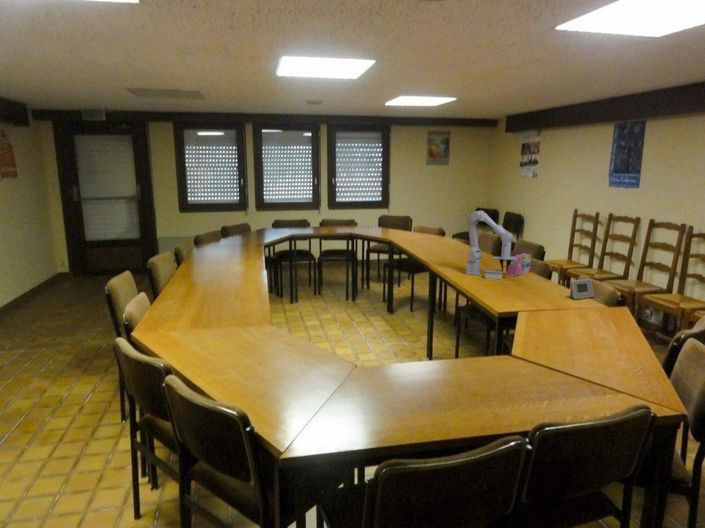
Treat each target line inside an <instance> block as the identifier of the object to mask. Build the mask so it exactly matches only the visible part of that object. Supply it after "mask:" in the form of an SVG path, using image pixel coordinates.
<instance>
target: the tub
mask: <svg viewBox="0 0 705 528" xmlns="http://www.w3.org/2000/svg"><path fill="white" fill-rule="evenodd" d="M485 278H490V279H489V280H495V279H502V280H503V274H498V273H485V272H484V279H485Z"/></svg>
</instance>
